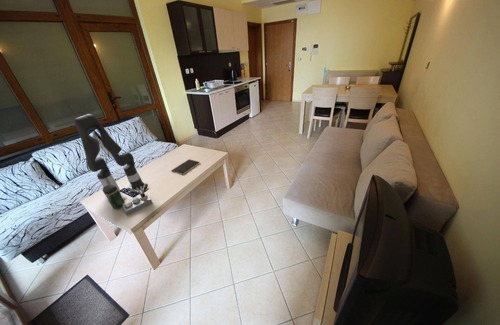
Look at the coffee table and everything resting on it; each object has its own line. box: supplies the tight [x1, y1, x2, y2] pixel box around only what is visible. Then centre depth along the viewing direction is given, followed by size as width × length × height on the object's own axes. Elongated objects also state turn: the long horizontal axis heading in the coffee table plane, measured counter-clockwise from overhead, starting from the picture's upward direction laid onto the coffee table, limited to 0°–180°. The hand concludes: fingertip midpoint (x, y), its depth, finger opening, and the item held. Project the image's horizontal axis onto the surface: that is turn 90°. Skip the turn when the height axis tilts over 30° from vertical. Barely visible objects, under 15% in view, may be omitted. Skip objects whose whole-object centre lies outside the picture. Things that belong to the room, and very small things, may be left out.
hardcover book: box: [171, 159, 200, 176], centre depth 191 cm, size 16×23×2 cm
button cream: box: [124, 200, 132, 208], centre depth 143 cm, size 4×4×4 cm
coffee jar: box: [102, 185, 126, 210], centre depth 145 cm, size 10×8×19 cm
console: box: [122, 191, 153, 217], centre depth 147 cm, size 12×18×4 cm, turn 131°
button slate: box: [132, 196, 140, 204], centre depth 146 cm, size 4×4×4 cm
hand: (143, 196), depth 148 cm, fingers closed
